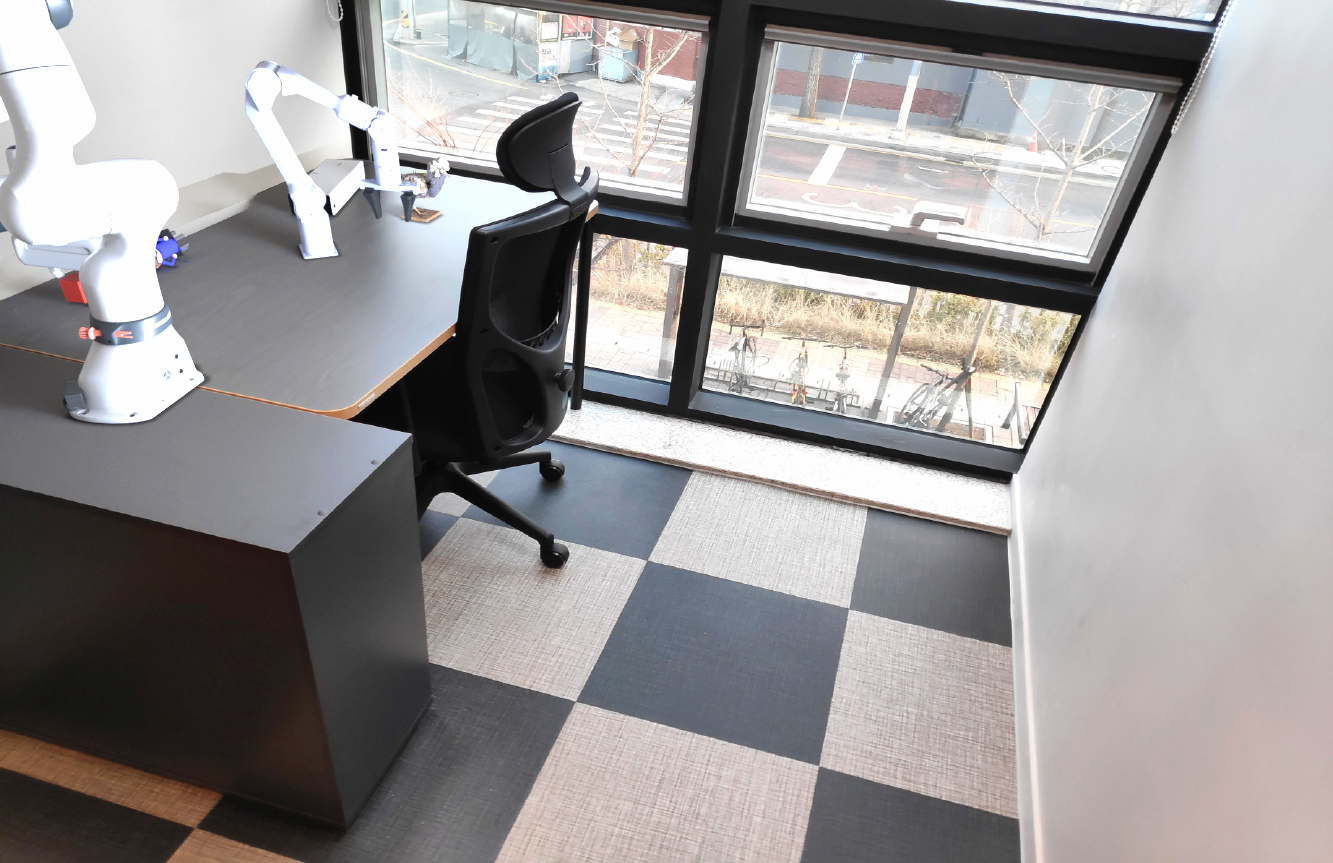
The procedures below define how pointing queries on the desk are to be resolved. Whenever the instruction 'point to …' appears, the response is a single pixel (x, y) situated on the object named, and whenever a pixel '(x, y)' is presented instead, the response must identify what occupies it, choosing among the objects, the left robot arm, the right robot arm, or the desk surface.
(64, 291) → the brick
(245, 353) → the desk surface
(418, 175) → the stuffed bird
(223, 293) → the desk surface
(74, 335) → the desk surface
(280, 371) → the desk surface
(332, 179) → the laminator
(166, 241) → the character figurine
